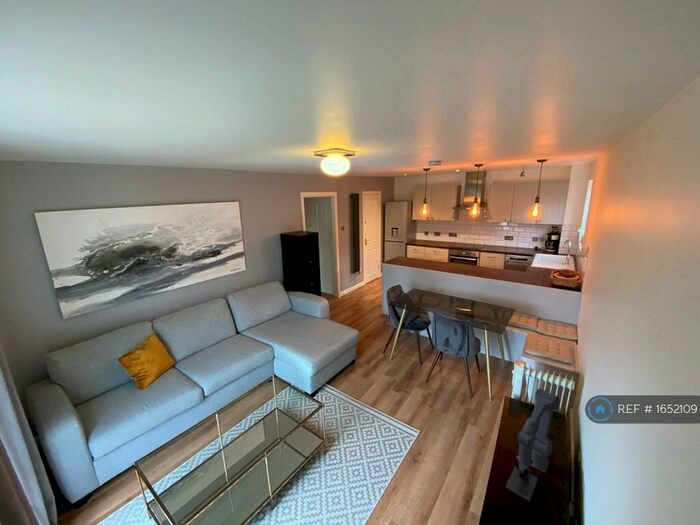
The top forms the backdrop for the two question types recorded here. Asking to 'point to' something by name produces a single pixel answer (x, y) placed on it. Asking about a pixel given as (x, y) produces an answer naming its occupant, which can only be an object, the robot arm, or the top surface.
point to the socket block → (521, 484)
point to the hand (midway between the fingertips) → (524, 474)
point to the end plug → (527, 475)
